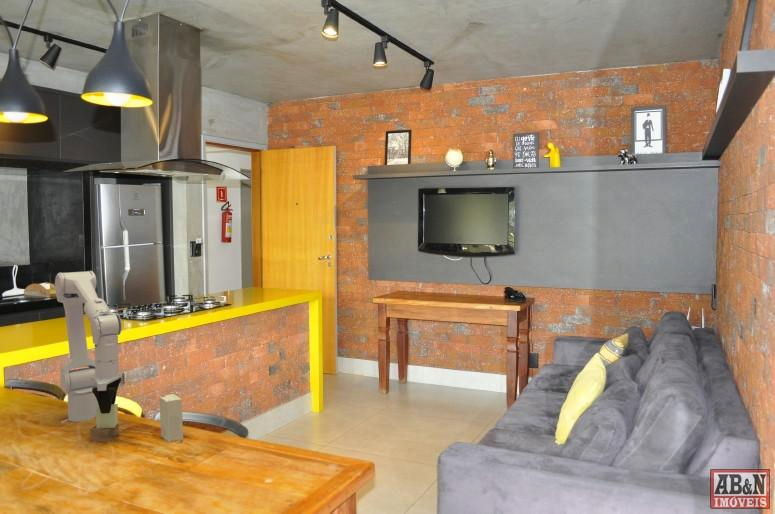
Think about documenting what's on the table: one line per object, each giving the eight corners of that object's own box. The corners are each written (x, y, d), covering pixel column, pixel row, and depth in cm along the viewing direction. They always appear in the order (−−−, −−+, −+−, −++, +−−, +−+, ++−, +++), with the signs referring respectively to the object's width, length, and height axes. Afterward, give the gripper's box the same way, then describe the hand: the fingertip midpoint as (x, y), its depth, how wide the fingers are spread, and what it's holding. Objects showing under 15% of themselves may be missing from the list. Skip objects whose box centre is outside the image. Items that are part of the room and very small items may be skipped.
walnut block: (103, 436, 167) (103, 422, 167) (119, 438, 166) (118, 424, 166) (90, 443, 162) (90, 428, 162) (106, 445, 161) (106, 430, 161)
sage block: (100, 422, 166) (99, 405, 166) (117, 421, 167) (117, 403, 167) (96, 428, 162) (96, 410, 161) (114, 427, 163) (114, 409, 163)
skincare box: (184, 442, 165) (183, 398, 164) (167, 446, 162) (166, 401, 161) (175, 435, 170) (175, 393, 169) (159, 439, 167) (158, 396, 166)
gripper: (96, 353, 169) (97, 401, 170) (84, 367, 155) (85, 419, 156) (123, 352, 171) (124, 400, 172) (113, 366, 157) (115, 417, 158)
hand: (107, 409), depth 164 cm, fingers open, 6 cm apart
